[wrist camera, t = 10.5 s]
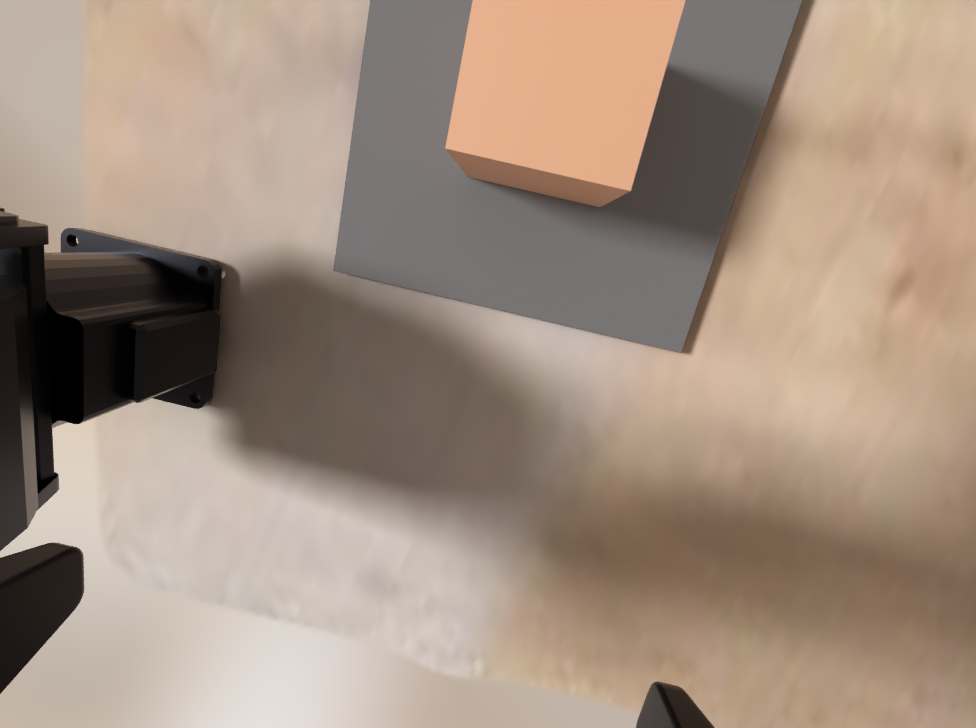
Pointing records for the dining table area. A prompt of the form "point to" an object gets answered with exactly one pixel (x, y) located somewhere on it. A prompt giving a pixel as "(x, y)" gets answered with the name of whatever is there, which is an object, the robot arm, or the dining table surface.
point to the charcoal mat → (546, 219)
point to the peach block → (560, 93)
